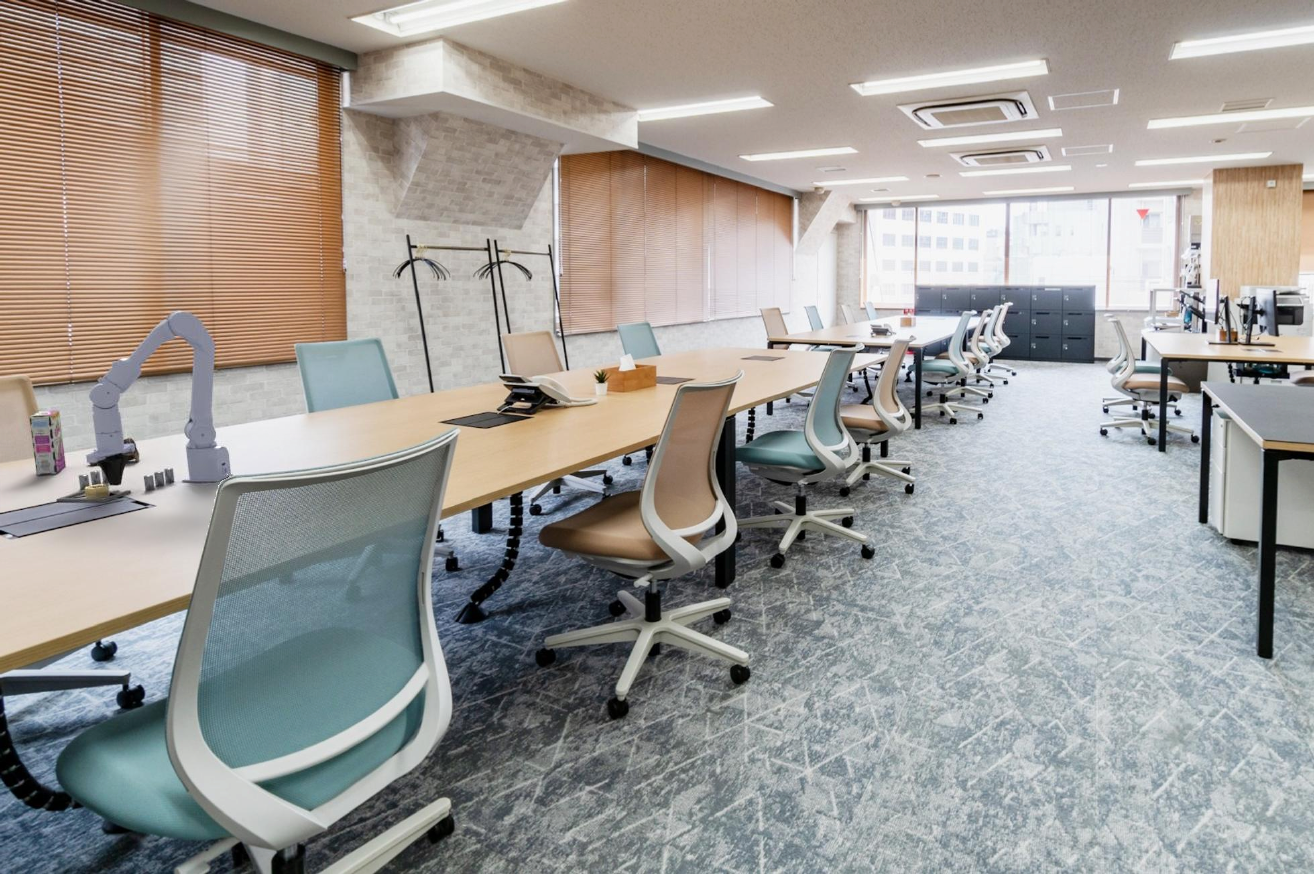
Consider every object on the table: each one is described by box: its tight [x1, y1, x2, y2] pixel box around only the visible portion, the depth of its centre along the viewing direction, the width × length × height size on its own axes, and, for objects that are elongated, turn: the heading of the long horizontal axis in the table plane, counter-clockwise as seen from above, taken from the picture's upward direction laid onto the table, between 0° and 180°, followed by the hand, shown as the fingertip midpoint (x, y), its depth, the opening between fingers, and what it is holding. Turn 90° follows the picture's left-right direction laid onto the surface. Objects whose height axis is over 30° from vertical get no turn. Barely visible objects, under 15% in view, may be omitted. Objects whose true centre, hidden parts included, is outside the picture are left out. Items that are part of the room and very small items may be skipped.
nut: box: [84, 483, 111, 499], centre depth 201 cm, size 5×5×2 cm
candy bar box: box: [28, 410, 67, 476], centre depth 228 cm, size 11×5×16 cm, turn 25°
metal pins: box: [78, 467, 175, 491], centre depth 212 cm, size 19×10×4 cm, turn 87°
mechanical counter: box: [89, 437, 140, 466], centre depth 240 cm, size 7×13×10 cm
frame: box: [56, 490, 132, 503], centre depth 200 cm, size 12×9×1 cm
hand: (115, 484), depth 208 cm, fingers closed
